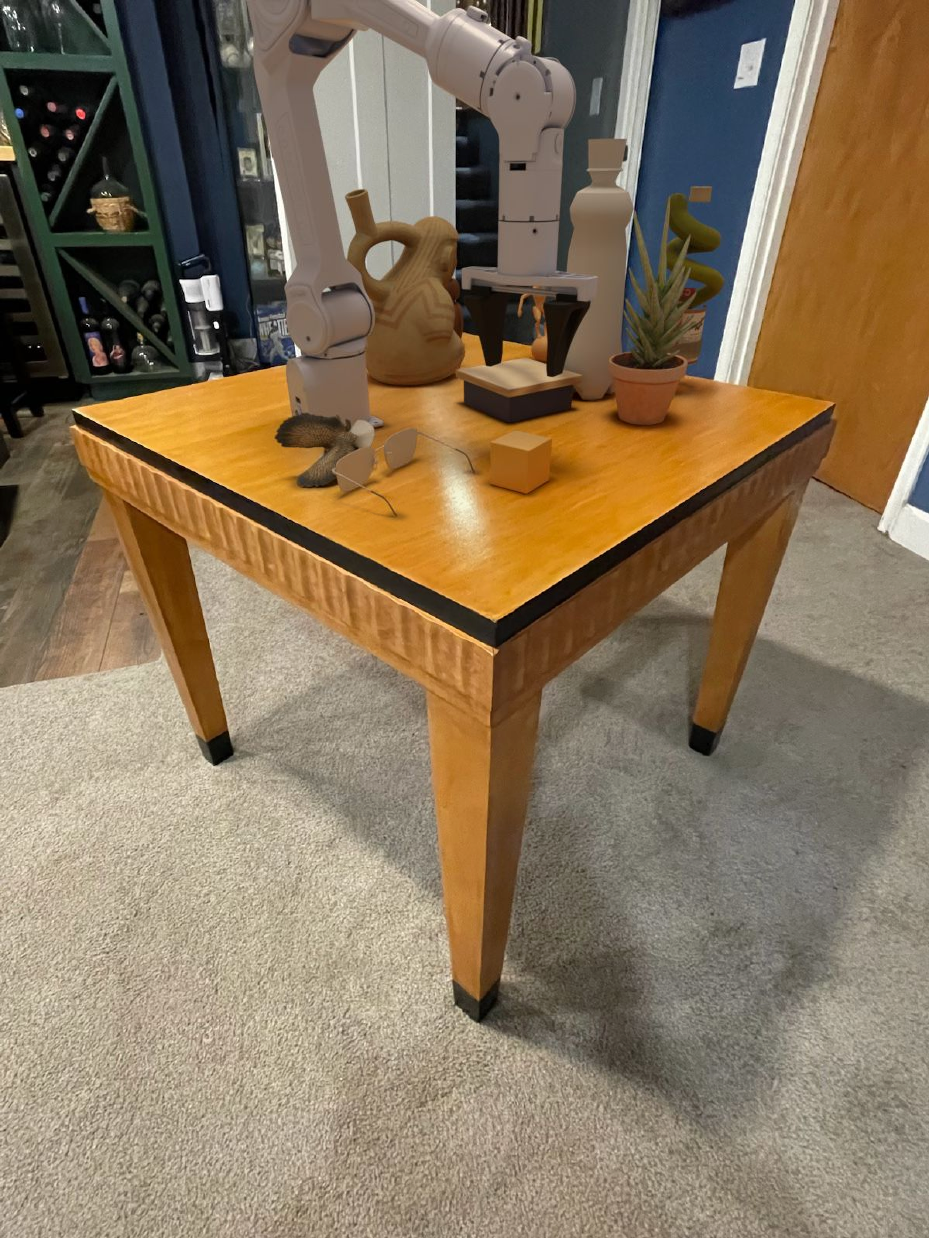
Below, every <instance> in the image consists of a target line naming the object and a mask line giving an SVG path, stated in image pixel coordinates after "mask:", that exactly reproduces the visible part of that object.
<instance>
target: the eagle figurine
mask: <svg viewBox="0 0 929 1238" xmlns="http://www.w3.org/2000/svg"><path fill="white" fill-rule="evenodd" d="M345 422H346V426H345V425H344V424H343V422H342V421H341V419H340V417H339V415H338V414H336V415H335V416H333V417H329V418H328V417H323V416H321V415H320V416H316V415H314V414H312V415H311V414H309V413H301V414H300V415H299V414H297V415H296V416H292V415H291V416H290V417H288V418H287V419H284V420H283V421H282V423H280V424H279V427H278V428H277V429H276V434H275V436H274V439H275V440H276V443H277V444H280V446H281V447H282V448H293V449H294V448H295V449H297V448H299V449H313V448H323V450H322V452H321V454H320V455H319V457H318V458H317V460H316V461H315V462H314V463H313V464H312V465H310V467H308V469H306V470H305V471H303V472H302V473H300V474H298V476H296V483H297V486H299V487H301V488H304V487H307V488H311V487H313V486H314V487H316V488H317V487H319V486H326V485H327V484H329V483H332V482H333V481H334V480H335V479H336V480H337V476H336V475H335V474H333V473H332V469H334V468H336V464H337V462H338V461H339V460H340V459H341V458H343V457H344V456H346V455H347V454H349V453H351V452H353V451H355V450H358V449H360V448H363V447H372V445H373V443H374V440H375V439H376V434H375V433H376V432H375V431H376V429H375V427H374V428H373V426H372V425H371V424H370V423H368V422H366V421H364V420H357V421H356V422H355V424H354V425H353V427H352V428H351V422H350V421H349V420H347V419H345ZM335 472H336V471H335Z"/></svg>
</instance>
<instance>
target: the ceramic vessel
mask: <svg viewBox="0 0 929 1238" xmlns="http://www.w3.org/2000/svg"><path fill="white" fill-rule="evenodd" d="M344 200H345V202H346V204H347V207H348V209H349V212H350V215H351V218H352V223H353V225H354V230H355V234H354V235H353V238H352V239H351V241H350V243H349V245H348V249H347V256H346V259H347V260H348V261H349V262H350V263H351V264H352V265H353V266H354V267H355V268H356V269H357V270H358V272H359V273H360V274H361V276H362V282H363V286H364V289H365V291H366V293H367V295H368V297H369V299H370V300H371V302H372V305H373V308H374V312H375V324H374V328H373V331H372V332H371V334H370V335H369V336H368V337H367V347H365V357H366V369H367V373H368V374H369V375H370V377H371V378H373V380H375V381H377V382H380V383H384V384H389V385H395V386H419V385H426V384H431V383H435V382H439V381H441V380H442V381H443V380H444V379H447V378H448V377H450V376H452V375H455V374H456V370H457V369H461V365H462V363H463V362H464V359H465V358H466V357H465V356H466V347H465V343H464V341H463V340H462V338H460V337H459V336H458V335H457V334H456V332H455V331H454V330H453V328H454V320H455V310H454V304H453V301H452V298H451V296H450V295H449V293H448V292H447V291H446V289H445V288H444V286H446V285H447V284H448V283H449V281H450V280H451V278H454V277H453V276H454V274H455V271H456V268H457V266H458V257H457V251H458V250H457V248H458V241H459V240H460V236H459V233H458V231H457V229H456V227H455V226H454V225H453V224H452V223H451V222H450V221H448V220H447V219H445V218H443V217H441V216H440V217H439V216H437V215H433V216H426V217H423V218H420V219H418V221H416V222H415V223H413V224H414V225H412V224H409V223H406V222H402V221H397V220H388V221H381V222H377V223H376V221H375V218H374V215H373V211H372V206H371V203H370V202H371V201H370V197H369V192H368V189H365V188H358V189H355V190H352V191H350V192H347V193H346V194H345V195H344ZM390 241H391V242H397V243H399V244H401V245H403V249H402V252H401V254H400V255H399V258H398V259H397V260H396V262H395V263H394V265H393V266H391V268H390V269H389V270H388V271H387V272H386V274H384V276H383V277H381V279H380V280H379V279H376V278H374V277H373V276H372V275H371V274H370V273H369V271H368V268H367V264H366V260H367V255H368V253H369V251H370V250H371V249H372V248H374V246H377V245H378V244H380V243H381V244H382V243H384V242H385V243H386V242H390Z"/></svg>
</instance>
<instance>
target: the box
mask: <svg viewBox="0 0 929 1238" xmlns="http://www.w3.org/2000/svg"><path fill="white" fill-rule="evenodd" d="M455 377H456V378H458V379H460V380H463V404H464V405H466V406H469V407H471V408H474V409H476V410H478V411H481V412H483V413H485V414H487V415H490V416H492V417H494V418H496V419H498V420H501V421H504V422H506V423H509V424H511V423H516V422H521V421H523V420H528V419H533V418H537V417H542V416H546V415H551V414H556V413H560V412H564V411H569V410H572V407H573V405H572V404H573V395H574V394H573V384H578V383H581V382H582V375H580V374H577V373H573V372H570V371H567V370H564V369H563V373H562V374H560V375H557V376H555V377H548V376H547V371H546V362H539V361H537V360H536V359H532V358H529V357H521V358H515V359H510V360H505V361H501V363H500V364H497V365H494V366H491V367H489V366H486V364H482V365H475V366H470V367H464V368H459V369H457V370H456V373H455ZM572 394H573V395H572Z"/></svg>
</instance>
